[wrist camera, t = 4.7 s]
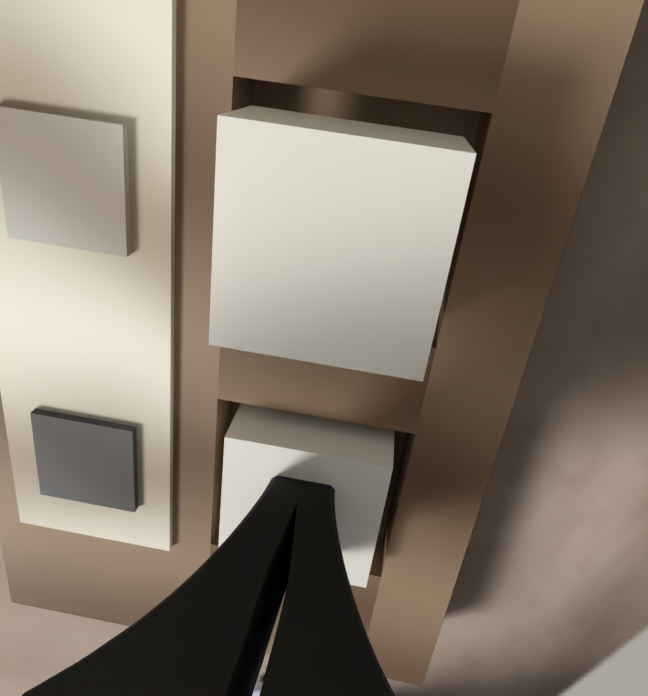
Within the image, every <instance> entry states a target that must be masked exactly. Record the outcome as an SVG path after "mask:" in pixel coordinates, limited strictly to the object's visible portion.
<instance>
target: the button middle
mask: <svg viewBox="0 0 648 696" xmlns="http://www.w3.org/2000/svg"><path fill="white" fill-rule="evenodd" d="M476 154H477V153H476V152H475V151H474V149H473V148H472V147H471V145H470V144H469V143H468V142H467V140H466V139H465V138H464V137H463V136H456V135H449V134H442V133H436V132H429V131H422V130H415V129H408V128H402V127H395V126H388V125H381V124H374V123H368V122H361V121H354V120H347V119H340V118H334V117H327V116H320V115H313V114H306V113H300V112H293V111H286V110H279V109H272V108H266V107H259V106H248V107H244V108H241V109H237V110H233V111H230V112H226V113H223V114H219V115H217V137H216V163H215V190H214V216H213V242H212V268H211V295H210V321H209V345H213V346H219V347H225V348H230V349H236V350H242V351H248V352H254V353H259V354H265V355H271V356H277V357H283V358H288V359H294V360H300V361H306V362H312V363H317V364H323V365H329V366H335V367H341V368H346V369H352V370H358V371H364V372H370V373H375V374H381V375H387V376H393V377H399V378H404V379H410V380H416V381H422V382H423V380H424V375H425V371H426V367H427V363H428V358H429V354H430V350H431V346H432V341H433V337H434V333H435V329H436V324H437V320H438V316H439V312H440V307H441V303H442V299H443V295H444V290H445V286H446V282H447V278H448V273H449V269H450V265H451V261H452V256H453V252H454V248H455V244H456V239H457V235H458V231H459V226H460V222H461V218H462V214H463V209H464V205H465V201H466V197H467V192H468V188H469V184H470V180H471V175H472V171H473V167H474V163H475V158H476Z"/></svg>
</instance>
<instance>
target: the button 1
mask: <svg viewBox="0 0 648 696" xmlns="http://www.w3.org/2000/svg"><path fill="white" fill-rule="evenodd" d="M393 459H394V430H390V429H385V428H379V427H373V426H368V425H362V424H357V423H351V422H345V421H340V420H334V419H328V418H323V417H317V416H312V415H306V414H300V413H295V412H289V411H283V410H278V409H272V408H267V407H261V406H255V405H250V404H244V403H241V404H240V406H239V408H238V410H237V412H236V414H235V416H234V418H233V421H232V423H231V425H230V427H229V429H228V431H227V433H226V435H225V437H224V455H223V472H222V490H221V507H220V525H219V543H218V548H219V547H220V546H221V544H222V543H223V542H224V541H225V540H226V539H227V538H228V537H229V536H230V534H231V533H232V532H233V531H234V530H235V528H236V527H237V526H238V525H239V524H240V522H241V521H242V520H243V519H244V518H245V516H246V515H247V514H248V513H249V511H250V510H251V509H252V507H253V506H254V505H255V503H256V502H257V501H258V499H259V498H260V496H261V495H262V493H263V492H264V490H265V489H266V487H267V486H268V484H269V482H270V480H271V479H272V478H273V477H275V476H277V475H278V476H283V477H289V478H294V479H300V480H305V481H310V482H316V483H322V484H327V485H331V486H332V487H333V488H334V490H335V515H336V523H337V530H338V536H339V542H340V546H341V551H342V555H343V560H344V564H345V568H346V572H347V576H348V579H349V583H350V585H353V586H359V587H364V588H366V586H367V581H368V577H369V573H370V568H371V564H372V559H373V555H374V550H375V546H376V542H377V537H378V533H379V528H380V524H381V519H382V515H383V511H384V506H385V502H386V497H387V493H388V488H389V484H390V480H391V475H392V471H393Z"/></svg>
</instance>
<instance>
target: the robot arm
mask: <svg viewBox="0 0 648 696" xmlns="http://www.w3.org/2000/svg"><path fill="white" fill-rule="evenodd" d="M285 590H286V591H285ZM284 594H285V598H284V602H283V606H282V610H281V614H280V618H279V622H278V626H277V630H276V634H275V638H274V642H273V646H272V650H271V654H270V658H269V661H268V665H267V669H266V673H265V676H264V680H263V682H262V681H261V682H257V683H256V681H257V678H258V675H259V672H260V669H261V666H262V662H263V659H264V656H265V653H266V650H267V647H268V644H269V641H270V637H271V634H272V631H273V628H274V625H275V622H276V619H277V616H278V612H279V609H280V606H281V603H282V600H283V597H284ZM22 696H395V695H394V693H393V691H392V689H391V687H390V685H389V683H388V681H387V679H386V676H385V674H384V672H383V670H382V668H381V666H380V664H379V662H378V660H377V657H376V655H375V653H374V650H373V648H372V645H371V643H370V641H369V638H368V636H367V633H366V630H365V628H364V625H363V622H362V620H361V617H360V614H359V611H358V608H357V605H356V602H355V599H354V596H353V593H352V589H351V586H350V583H349V579H348V576H347V572H346V568H345V564H344V560H343V555H342V551H341V546H340V542H339V536H338V530H337V523H336V515H335V490H334V488H333V487H332V486H331V485H327V484H322V483H316V482H310V481H305V480H300V479H294V478H289V477H283V476H278V475H277V476H275V477H273V478H272V479H271V480H270V482H269V484H268V486H267V487H266V489H265V490H264V492H263V493H262V495H261V496H260V498H259V499H258V501H257V502H256V503H255V505H254V506H253V507H252V509H251V510H250V511H249V513H248V514H247V515H246V516H245V518H244V519H243V520H242V521H241V522H240V524H239V525H238V526H237V527H236V528H235V530H234V531H233V532H232V533H231V534H230V536H229V537H228V538H227V539H226V540H225V541H224V542H223V543H222V544H221V546H220V547H219V548H218V549H217V550H216V551H215V552H214V553H213V554H212V555H211V556H210V557H209V558H208V559H207V560H206V561H205V562H204V563H203V564H202V565H201V566H200V567H199V568H198V569H197V570H196V571H195V572H194V573H193V574H192V575H191V576H190V577H189V578H188V579H187V580H186V581H185V582H184V583H183V584H181V585H180V586H179V587H178V588H177V589H176V590H175V591H174V592H172V593H171V594H170V595H169V596H168V597H167V598H165V599H164V600H163V601H162V602H160V603H159V604H158V605H157V606H156V607H154V608H153V609H152V610H151V611H149V612H148V613H147V614H146V615H144V616H143V617H142V618H141V619H139V620H138V621H137V622H135V623H134V624H133V625H131V626H130V627H129V628H127V629H126V630H124V631H123V632H121V633H120V634H118V635H117V636H116V637H114V638H113V639H111V640H110V641H108V642H107V643H105V644H104V645H102V646H101V647H99V648H98V649H97V650H95V651H94V652H92V653H91V654H89V655H88V656H86V657H85V658H83V659H81V660H80V661H78V662H77V663H75V664H73V665H72V666H70V667H68V668H66V669H65V670H63V671H61V672H60V673H58V674H56V675H54V676H53V677H51V678H49V679H48V680H46V681H44V682H43V683H41V684H39V685H37V686H36V687H34V688H32V689H30V690H29V691H27V692H25V693H24V694H23V695H22Z"/></svg>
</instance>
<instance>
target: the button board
mask: <svg viewBox="0 0 648 696" xmlns="http://www.w3.org/2000/svg"><path fill="white" fill-rule="evenodd" d="M643 3H644V0H0V538H1V544H2V549H3V555H4V561H5V567H6V572H7V578H8V584H9V589H10V595H11V601H12V602H14V603H18V604H23V605H28V606H33V607H38V608H43V609H48V610H53V611H58V612H63V613H68V614H73V615H78V616H82V617H87V618H92V619H97V620H102V621H107V622H112V623H117V624H122V625H127V626H131V625H133V624H134V623H135V622H137V621H138V620H139V619H141V618H142V617H143V616H144V615H146V614H147V613H148V612H149V611H151V610H152V609H153V608H154V607H156V606H157V605H158V604H159V603H160V602H162V601H163V600H164V599H165V598H167V597H168V596H169V595H170V594H171V593H172V592H174V591H175V590H176V589H177V588H178V587H179V586H180V585H181V584H183V583H184V582H185V581H186V580H187V579H188V578H189V577H190V576H191V575H192V574H193V573H194V572H195V571H196V570H197V569H198V568H199V567H200V566H201V565H202V564H203V563H204V562H205V561H206V560H207V559H208V558H209V557H210V556H211V555H212V554H213V553H214V552H215V551H216V550H217V549H218V543H219V525H220V507H221V490H222V472H223V455H224V437H225V435H226V433H227V431H228V429H229V427H230V425H231V423H232V421H233V418H234V416H235V414H236V412H237V410H238V408H239V406H240V404H241V403H244V404H250V405H255V406H261V407H267V408H272V409H278V410H283V411H289V412H295V413H300V414H306V415H312V416H317V417H323V418H328V419H334V420H340V421H345V422H351V423H357V424H362V425H368V426H373V427H379V428H385V429H390V430H394V459H393V471H392V475H391V480H390V484H389V488H388V493H387V497H386V502H385V506H384V511H383V515H382V519H381V524H380V528H379V533H378V537H377V542H376V546H375V550H374V555H373V559H372V564H371V568H370V573H369V577H368V581H367V586H366V588H364V587H359V586H353V585H350V586H351V589H352V593H353V596H354V599H355V602H356V605H357V608H358V611H359V614H360V617H361V620H362V622H363V625H364V628H365V630H366V633H367V636H368V638H369V641H370V643H371V645H372V648H373V650H374V653H375V655H376V657H377V660H378V662H379V664H380V666H381V668H382V670H383V672H384V674H385V676H386V678H388V679H393V680H398V681H402V682H407V683H412V684H417V685H423V681H424V678H425V675H426V672H427V669H428V666H429V663H430V660H431V657H432V654H433V651H434V648H435V644H436V641H437V638H438V635H439V632H440V629H441V626H442V623H443V620H444V617H445V614H446V611H447V607H448V604H449V601H450V598H451V595H452V592H453V589H454V586H455V583H456V580H457V577H458V574H459V570H460V567H461V564H462V561H463V558H464V555H465V552H466V549H467V546H468V543H469V540H470V537H471V533H472V530H473V527H474V524H475V521H476V518H477V515H478V512H479V509H480V506H481V503H482V500H483V497H484V493H485V490H486V487H487V484H488V481H489V478H490V475H491V472H492V469H493V466H494V463H495V460H496V456H497V453H498V450H499V447H500V444H501V441H502V438H503V435H504V432H505V429H506V426H507V423H508V419H509V416H510V413H511V410H512V407H513V404H514V401H515V398H516V395H517V392H518V389H519V386H520V382H521V379H522V376H523V373H524V370H525V367H526V364H527V361H528V358H529V355H530V352H531V349H532V345H533V342H534V339H535V336H536V333H537V330H538V327H539V324H540V321H541V318H542V315H543V312H544V308H545V305H546V302H547V299H548V296H549V293H550V290H551V287H552V284H553V281H554V278H555V275H556V272H557V268H558V265H559V262H560V259H561V256H562V253H563V250H564V247H565V244H566V241H567V238H568V235H569V231H570V228H571V225H572V222H573V219H574V216H575V213H576V210H577V207H578V204H579V201H580V198H581V194H582V191H583V188H584V185H585V182H586V179H587V176H588V173H589V170H590V167H591V164H592V161H593V157H594V154H595V151H596V148H597V145H598V142H599V139H600V136H601V133H602V130H603V127H604V124H605V120H606V117H607V114H608V111H609V108H610V105H611V102H612V99H613V96H614V93H615V90H616V87H617V83H618V80H619V77H620V74H621V71H622V68H623V65H624V62H625V59H626V56H627V53H628V50H629V46H630V43H631V40H632V37H633V34H634V31H635V28H636V25H637V22H638V19H639V16H640V13H641V10H642V6H643ZM248 106H259V107H266V108H272V109H279V110H286V111H293V112H300V113H306V114H313V115H320V116H327V117H334V118H340V119H347V120H354V121H361V122H368V123H374V124H381V125H388V126H395V127H402V128H408V129H415V130H422V131H429V132H436V133H442V134H449V135H456V136H463V137H464V138H465V139H466V140H467V142H468V143H469V144H470V145H471V147H472V148H473V149H474V151H475V152H476V153H477V154H476V158H475V163H474V167H473V171H472V175H471V180H470V184H469V188H468V192H467V197H466V201H465V205H464V209H463V214H462V218H461V222H460V226H459V231H458V235H457V239H456V244H455V248H454V252H453V256H452V261H451V265H450V269H449V273H448V278H447V282H446V286H445V290H444V295H443V299H442V303H441V307H440V312H439V316H438V320H437V324H436V329H435V333H434V337H433V341H432V346H431V350H430V354H429V358H428V363H427V367H426V371H425V375H424V380H423V382H422V381H416V380H410V379H404V378H399V377H393V376H387V375H381V374H375V373H370V372H364V371H358V370H352V369H346V368H341V367H335V366H329V365H323V364H317V363H312V362H306V361H300V360H294V359H288V358H283V357H277V356H271V355H265V354H259V353H254V352H248V351H242V350H236V349H230V348H225V347H219V346H213V345H209V321H210V295H211V268H212V242H213V216H214V190H215V163H216V137H217V115H219V114H223V113H226V112H230V111H233V110H237V109H241V108H244V107H248ZM285 591H286V590H285ZM284 598H285V594H284V597H283V600H282V603H281V606H280V609H279V612H278V616H277V619H276V622H275V625H274V628H273V631H272V634H271V637H270V641H269V644H268V647H267V650H266V653H265V654H271V650H272V646H273V642H274V638H275V634H276V630H277V626H278V622H279V618H280V614H281V610H282V606H283V602H284Z"/></svg>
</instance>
